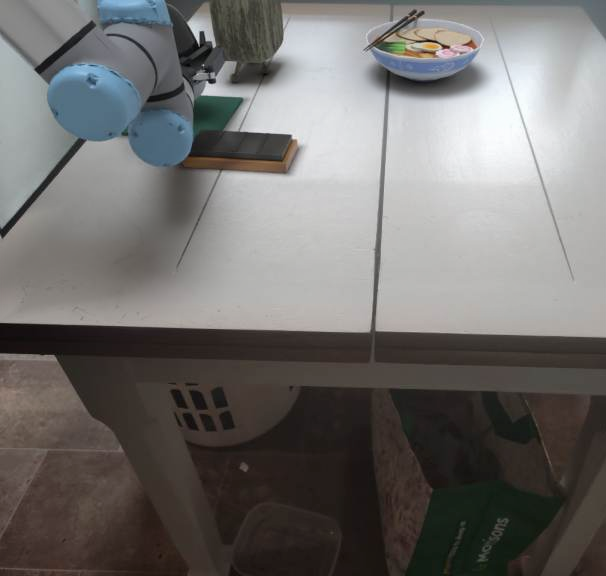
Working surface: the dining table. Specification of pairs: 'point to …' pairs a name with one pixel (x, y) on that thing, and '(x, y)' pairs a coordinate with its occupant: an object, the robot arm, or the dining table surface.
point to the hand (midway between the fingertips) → (172, 41)
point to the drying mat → (211, 112)
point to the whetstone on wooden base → (242, 151)
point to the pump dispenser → (184, 42)
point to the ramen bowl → (423, 47)
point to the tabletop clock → (247, 30)
